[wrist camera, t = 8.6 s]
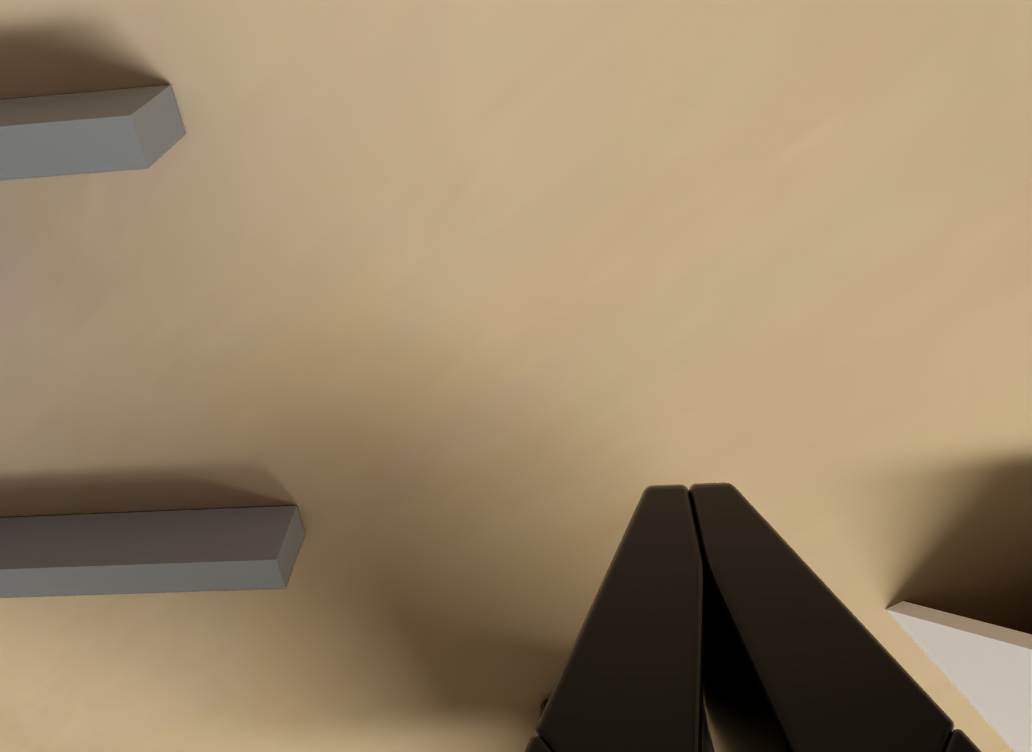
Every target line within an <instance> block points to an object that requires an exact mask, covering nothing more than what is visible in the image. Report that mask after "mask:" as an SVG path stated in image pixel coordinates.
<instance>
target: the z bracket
mask: <svg viewBox="0 0 1032 752" xmlns="http://www.w3.org/2000/svg"><path fill="white" fill-rule="evenodd" d="M885 610H886V611H887V612H888V613H889V614H890V615H891V616H892V617H893V618H894V620H895V621H896V622H897V623H898V624H899V625H900V626H901V627H902V628H903V630H904V631H905V632H906V633H907V634H908V635H909V636H910V637H911V638H912V639H913V641H914V642H915V643H916V644H917V645H918V646H919V647H920V648H921V649H922V651H923V652H924V653H925V654H926V655H927V656H928V657H929V658H930V659H931V660H932V662H933V663H934V664H935V665H936V666H937V667H938V668H939V669H940V670H941V672H942V673H943V674H944V675H945V676H946V677H947V678H948V679H949V680H950V681H951V683H952V684H953V685H954V686H955V687H956V688H957V689H958V690H959V691H960V693H961V694H962V695H963V696H964V697H965V698H966V699H967V700H968V701H969V702H970V704H971V705H972V706H973V707H974V708H975V709H976V710H977V711H978V712H979V714H980V715H981V716H982V717H983V718H984V719H985V720H986V721H987V722H988V723H989V725H990V726H991V727H992V728H993V729H994V730H995V731H996V732H997V733H998V735H999V736H1000V737H1001V738H1002V739H1003V740H1004V741H1005V742H1006V743H1007V744H1008V746H1009V747H1010V748H1011V749H1012V750H1013V751H1014V752H1032V634H1028V633H1024V632H1020V631H1016V630H1012V629H1009V628H1005V627H1001V626H997V625H993V624H989V623H986V622H982V621H978V620H974V619H970V618H966V617H963V616H959V615H955V614H951V613H947V612H943V611H940V610H936V609H932V608H928V607H924V606H920V605H917V604H913V603H909V602H905V601H902V602H900V603H898V604H895V605H893V606H891V607H889V608H887V609H885Z"/></svg>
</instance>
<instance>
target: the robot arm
mask: <svg viewBox="0 0 1032 752" xmlns="http://www.w3.org/2000/svg"><path fill="white" fill-rule="evenodd" d="M525 752H981V751H980V750H979V749H978V748H977V747H976V745H975V744H974V743H973V742H972V741H971V740H970V739H969V738H968V737H967V736H966V735H965V733H964V732H963V731H961V730H959V729H955V730H954V723H953V721H952V720H951V719H950V718H949V717H948V716H947V715H946V714H945V712H944V711H943V710H942V709H941V708H940V707H939V706H938V705H937V704H936V703H935V702H934V701H933V700H932V698H931V697H930V696H929V695H928V694H927V693H926V692H925V691H924V690H923V689H922V688H921V687H920V686H919V685H918V683H917V682H916V681H915V680H914V679H913V678H912V677H911V676H910V675H909V674H908V673H907V672H906V671H905V669H904V668H903V667H902V666H901V665H900V664H899V663H898V662H897V661H896V660H895V659H894V658H893V657H892V655H891V654H890V653H889V652H888V651H887V650H886V649H885V648H884V647H883V646H882V645H881V644H880V643H879V642H878V640H877V639H876V638H875V637H874V636H873V635H872V634H871V633H870V632H869V631H868V630H867V629H866V628H865V626H864V625H863V624H862V623H861V622H860V621H859V620H858V619H857V618H856V617H855V616H854V615H853V614H852V612H851V611H850V610H849V609H848V608H847V607H846V606H845V605H844V604H843V603H842V602H841V601H840V600H839V599H838V597H837V596H836V595H835V594H834V593H833V592H832V591H831V590H830V589H829V588H828V587H827V586H826V585H825V583H824V582H823V581H822V580H821V579H820V578H819V577H818V576H817V575H816V574H815V573H814V572H813V571H812V569H811V568H810V567H809V566H808V565H807V564H806V563H805V562H804V561H803V560H802V559H801V558H800V557H799V556H798V554H797V553H796V552H795V551H794V550H793V549H792V548H791V547H790V546H789V545H788V544H787V543H786V542H785V540H784V539H783V538H782V537H781V536H780V535H779V534H778V533H777V532H776V531H775V530H774V529H773V528H772V526H771V525H770V524H769V523H768V522H767V521H766V520H765V519H764V518H763V517H762V516H761V515H760V514H759V513H758V511H757V510H756V509H755V508H754V507H753V506H752V505H751V504H750V503H749V502H748V501H747V500H746V499H745V497H744V496H743V495H742V494H741V493H740V492H739V491H738V490H737V489H736V488H735V487H734V486H733V485H731V484H729V483H704V484H693V485H692V486H691V487H690V489H689V491H688V489H687V488H686V486H684V485H655V486H649V487H647V488H646V489H645V490H644V492H643V494H642V496H641V498H640V501H639V503H638V505H637V507H636V509H635V512H634V514H633V516H632V518H631V520H630V522H629V525H628V527H627V529H626V531H625V533H624V536H623V538H622V540H621V542H620V544H619V547H618V549H617V551H616V553H615V555H614V558H613V560H612V562H611V564H610V566H609V569H608V571H607V573H606V575H605V577H604V579H603V582H602V584H601V586H600V588H599V590H598V593H597V595H596V597H595V599H594V601H593V604H592V606H591V608H590V610H589V612H588V615H587V617H586V619H585V621H584V623H583V626H582V628H581V630H580V632H579V634H578V637H577V639H576V641H575V643H574V645H573V647H572V650H571V652H570V654H569V656H568V658H567V661H566V663H565V665H564V667H563V669H562V672H561V674H560V676H559V678H558V680H557V683H556V685H555V687H554V689H553V691H552V694H551V696H550V698H549V699H547V700H545V701H543V702H542V703H541V706H540V720H539V722H538V724H537V726H536V729H535V736H533V737H531V739H530V741H529V743H528V745H527V747H526V749H525Z"/></svg>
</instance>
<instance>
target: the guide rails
mask: <svg viewBox="0 0 1032 752" xmlns="http://www.w3.org/2000/svg"><path fill="white" fill-rule="evenodd" d="M185 134H186V132H185V129H184V126H183V122H182V119H181V116H180V112H179V109H178V106H177V102H176V99H175V96H174V92H173V89H172V85H161V86H149V87H138V88H127V89H115V90H104V91H93V92H81V93H70V94H59V95H47V96H36V97H25V98H14V99H2V100H0V180H10V179H22V178H35V177H48V176H60V175H73V174H85V173H98V172H111V171H123V170H136V169H148V168H149V167H150V166H151V165H152V164H153V163H155V162H156V161H157V160H158V159H159V158H160V157H161V156H162V155H163V154H164V153H166V152H167V151H168V150H169V149H170V148H171V147H172V146H173V145H174V144H175V143H176V142H178V141H179V140H180V139H181V138H182V137H183V136H184V135H185ZM304 536H305V531H304V528H303V525H302V521H301V518H300V515H299V511H298V508H297V506H273V507H249V508H225V509H201V510H177V511H152V512H128V513H104V514H80V515H55V516H31V517H7V518H0V598H12V597H43V596H74V595H104V594H135V593H166V592H197V591H228V590H259V589H286V586H287V584H288V581H289V578H290V575H291V572H292V570H293V567H294V564H295V561H296V558H297V556H298V553H299V550H300V547H301V544H302V541H303V539H304Z"/></svg>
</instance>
